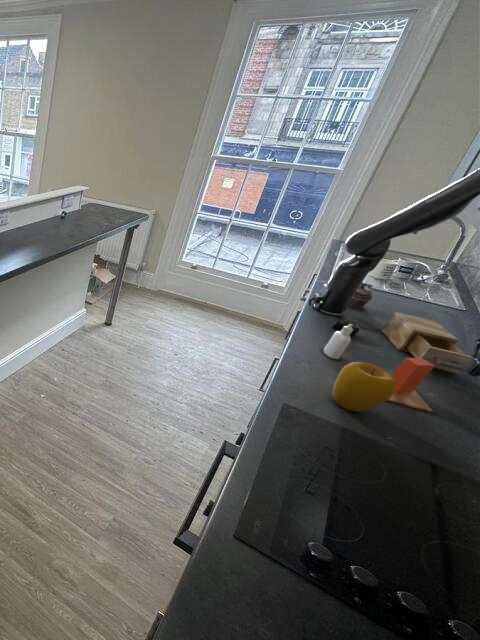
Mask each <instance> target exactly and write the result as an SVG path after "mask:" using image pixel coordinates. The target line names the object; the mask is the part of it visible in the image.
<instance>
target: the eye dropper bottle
mask: <svg viewBox="0 0 480 640" xmlns="http://www.w3.org/2000/svg"><path fill="white" fill-rule="evenodd" d="M352 331H353V329H352V324H349V325H348V326H344V327H343V329H342V330H341V332H340V331H337V330H336V331H334V333H333V335H332V336H331V337H330V338H329V341H328V342H327V344H326V345H325V346H324V348H323V354H325V355H326V356H327V357H328V358H330V359H333V360H339V359H340V358H341V357H342V355H343V354H344V352H345V351H346V349H347V348H348V346H349V345H350V343H351V341H352V339H351V336H350V334H351V332H352Z"/></svg>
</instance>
